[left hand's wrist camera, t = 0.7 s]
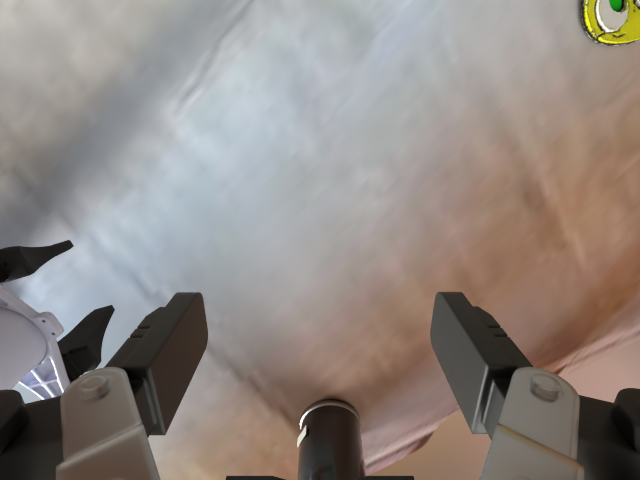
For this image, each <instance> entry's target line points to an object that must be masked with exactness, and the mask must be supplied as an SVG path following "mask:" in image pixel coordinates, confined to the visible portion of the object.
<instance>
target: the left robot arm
mask: <svg viewBox="0 0 640 480" xmlns="http://www.w3.org/2000/svg"><path fill="white" fill-rule="evenodd" d="M430 337H431V344H432V347H433V350H434V352H435V354H436V356H437V359H438V361H439V363H440V365H441V367H442V369H443V372H444V374H445V376H446V378H447V380H448V382H449V384H450V387H451V389H452V391H453V393H454V395H455V397H456V400H457V402H458V404H459V406H460V408H461V410H462V412H463V415H464V417H465V419H466V421H467V423H468V425H469V428H470V430H471V432H472V434H488V435H489V437H490V439H491V444H490V448H489V451H488V454H487V457H486V461H485V464H484V467H483V470H482V473H481V477H480V480H640V389H635V388H627V389H623V390H620V391H619V393H618V394H617V397H616V399H615V401H614V403H611V402H607V401H602V400H598V399H593V398H589V397H585V396H581V395H578V393H577V392H576V390H575V389H574V388H573V387H572V386H571V385H570V384H569V383H568V382H567V381H565V380H564V379H563V378H561V377H559V376H558V375H556V374H554V373H552V372H549V371H547V370H544V369H540V368H535V367H533V366H532V365H531V363H530V362H529V361H528V360H527V358H526V357H525V356H524V355H523V353H522V352H521V351H520V350H519V349H518V347H517V346H516V345H515V344H514V342H513V341H512V340H511V339H510V338H509V337H507V334H506V333H505V331H504V330H503V329H502V328H500V325H499V324H498V323H497V322H496V320H495V319H494V318H493V317H492V315H490V314H489V313H487V312H486V311H484V310H482V309H481V308H479V307H473V306H472V305H471V304H470V302H469V301H468V300H467V298H466V297H465V296H464V294H463V293H462V292H438V293H437V294H436V297H435V303H434V310H433V316H432V323H431V331H430ZM207 341H208V329H207V322H206V315H205V308H204V302H203V297H202V294H201V293H199V292H178V293H176V294H175V295H174V296H173V298H172V299H171V300H170V302H169V303H168V304H167V306H166V307H159V308H158V309H156V310H155V311H153V312H152V313H150V314H149V315H147V316H146V317H145V318H144V320H143V321H142V322H141V323H140V324H139V326H138V328H137V329H135V331H134V332H133V333H132V334H131V335H130V338H128V339H127V340H126V342H125V343H124V344H123V345H122V346H121V348H120V349H119V350H118V351H117V352H116V354H115V355H114V356H113V357H112V359H111V360H110V361H109V362H108V363H107V365H106V366H105V367H104V368H100V369H96V370H93V371H91V372H88V373H86V374H84V375H82V376H81V377H79V378H77V379H76V380H75V381H73V382H72V383H71V384H70V385H69V386H68V387H67V388H66V389H65V390H64V392H63V393H62V395H61V396H57V397H53V398H49V399H44V400H40V401H36V402H31V403H27V404H25V403H24V401H23V399H22V396H21V394H20V393H19V392H18V391H16V390H9V389H6V390H0V480H160V477H159V473H158V470H157V467H156V464H155V461H154V457H153V454H152V451H151V448H150V444H149V441H148V437H149V435H165V434H166V432H167V430H168V428H169V426H170V424H171V422H172V420H173V417H174V415H175V413H176V411H177V409H178V407H179V405H180V402H181V400H182V398H183V396H184V394H185V392H186V390H187V387H188V385H189V383H190V381H191V379H192V377H193V375H194V373H195V370H196V368H197V366H198V364H199V362H200V360H201V358H202V355H203V353H204V351H205V349H206V346H207ZM300 429H301V433H300V436H299V437H298V443H297V447H298V446H299V444H300V448H299V465H298V480H414V477H413V476H366V473H365V465H364V457H363V449H362V440H361V432H360V419H359V415H358V413H357V411H356V410H355V409H354V408H353V407H352V406H350V405H349V404H347V403H344V402H341V401H337V400H324V401H320V402H317V403H314V404H312V405H311V406H309V407H308V408H307V409H306V410H305V411H304V412H303V414H302V416H301V421H300ZM226 480H285V479H281V478H278V477H274V476H227V477H226Z"/></svg>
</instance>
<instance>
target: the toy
mask: <svg viewBox="0 0 640 480" xmlns="http://www.w3.org/2000/svg"><path fill="white" fill-rule="evenodd" d="M588 1H589V2H588ZM600 1H601V3H600ZM628 2H629V3H628ZM587 3H588V4H587ZM599 3H600V4H599ZM629 4H630V7H629ZM599 6H600V7H599ZM587 10H588V11H587ZM587 12H588V13H587ZM614 13H615V14H614ZM620 13H621V14H620ZM600 18H601V19H600ZM581 20H582V24H583V27H584V30H585V32H586V33H587V35H588V36H589V37H590V38H591V39H592V40H593V41H595V42H596V43H599V44H602V45H607V46H617V45H618V46H620V45H625V44H626V45H627V44H629V43H633V42H638V41H640V0H622V1H621V0H581ZM590 22H591V23H590ZM590 25H591V26H590ZM605 25H606V26H605ZM607 25H608V27H607ZM609 28H611V29H609ZM612 28H613V29H614V30H613V29H612ZM615 29H616V30H615ZM624 32H625V33H624ZM597 33H598V34H597ZM607 33H608V34H607ZM611 34H612V35H611ZM608 36H609V37H608ZM604 37H605V38H604ZM613 37H614V38H613ZM624 37H625V38H624ZM609 39H610V40H609ZM625 39H626V40H625ZM630 40H631V41H630Z"/></svg>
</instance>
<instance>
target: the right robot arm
mask: <svg viewBox="0 0 640 480" xmlns="http://www.w3.org/2000/svg"><path fill="white" fill-rule="evenodd" d="M72 247H73V244H72V243H71V241H70V240H67V241H64V242H61V243H57V244H54V245H51V246H45V247H21V246H16V247H7V248H3V249H0V390H6V389H9V390H11V389H12V388H13V387H14V386H15V385H16V384H18V383H19V382H20V383H21V384H22V385H24V386H25V387H27V388H28V389H30V390H31V391H33V392H34V393H36V394H37V395H38V396H40V397H41V398H42V399H43V400H44V399H49V398H53V397H57V396H61V395H62V393H63V392H64V390H65V389H66V388H67V387H68V386H69V385H70V384H71V383H72V382H73V381H75V380H76V379H77V378H79V376H80V375H83V374H84V373H85V372H88V371H92V370H94V369H96V368H97V366H98V365H99V364H100V362H101V347H102V341H103V337H104V333H105V330H106V328H107V325H108V323H109V321H110V319H111V316H112V314H113V312H114V310H115V309H114V308H113V306H112V305H110V306H106V307H103V308H99V309H96V310H94V311H92V312H91V313H90V314H89V315H87V316H86V317H85V318H84V319H83V320H82V321H81V322H80V323H79V324H78V325H77V326H76V327H75V328H74V329H73V330H72V331H71V332H70V333H68V334H67V335H66V336H65V337H63V338H62V339H61V340H60V341H58V342H57V340H56V338H57V337H59V336H60V335H61V334H62V333H63V331H64V329H63V326H62V325H61V324H60V322H59V321H58V320H57V318H56V317H55V316H54V315H53V314H52V313H50V312H43V313H38V312H36V311H35V310H34V309H33V308H31V307H30V306H29V305H27V304H26V303H25V302H24V301H22V300H21V299H20V298H18V297H17V296H16V295H14V294H13V293H12V292H11V291H9V290H8V289H7V288H5V287H4V286H3V285H2V284H1V283H5V282H8V281H12V280H15V279H19V278H22V277H25V276H29V275H31V274H33V273H34V272H35V271H36V270H37V269H39V268H40V267H41V266H42V265H43V264H45V263H46V262H47V261H49V260H50V259H52V258H53V257H55V256H57V255H59V254H61V253H63V252H65V251H67V250H69V249H71V248H72Z"/></svg>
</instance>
